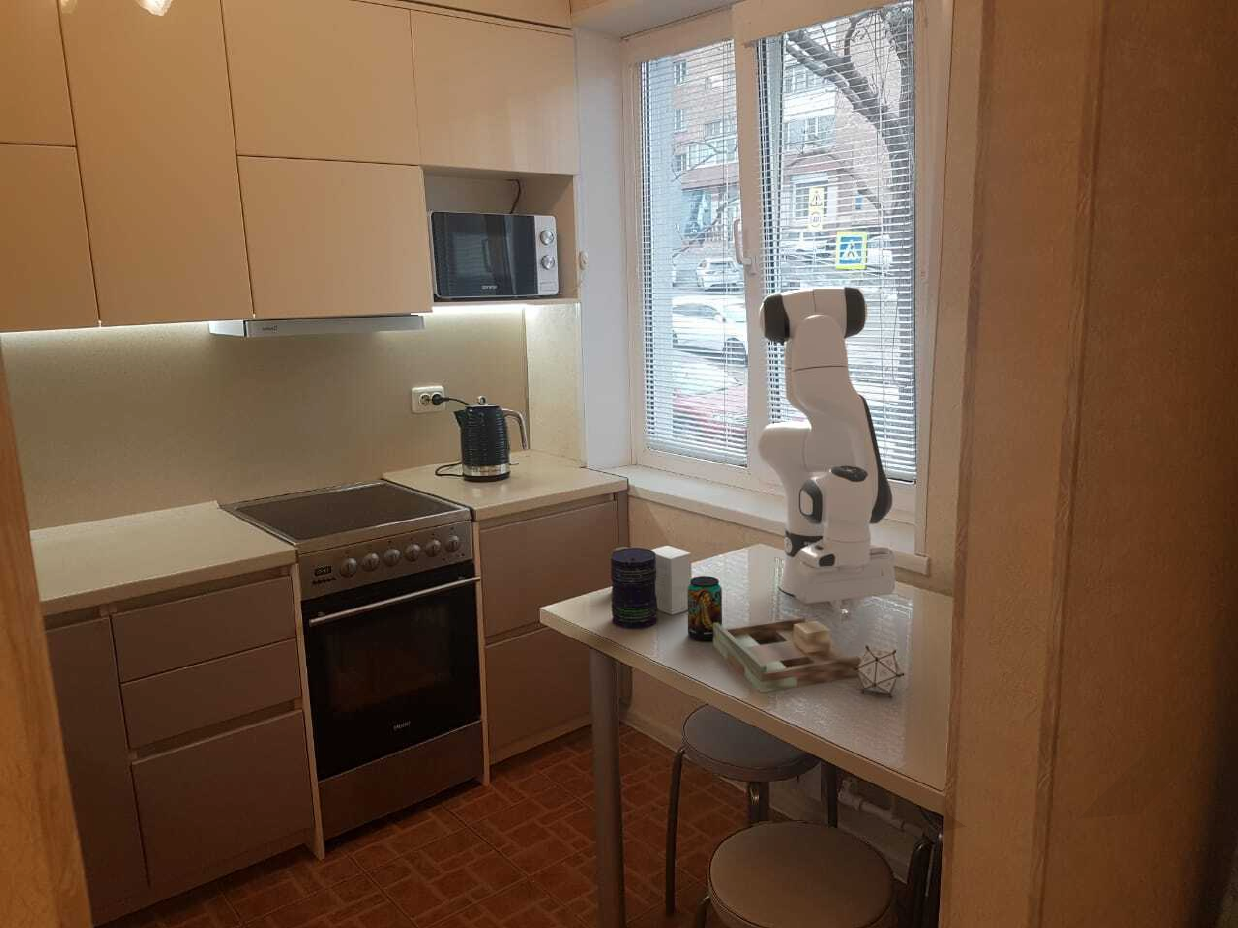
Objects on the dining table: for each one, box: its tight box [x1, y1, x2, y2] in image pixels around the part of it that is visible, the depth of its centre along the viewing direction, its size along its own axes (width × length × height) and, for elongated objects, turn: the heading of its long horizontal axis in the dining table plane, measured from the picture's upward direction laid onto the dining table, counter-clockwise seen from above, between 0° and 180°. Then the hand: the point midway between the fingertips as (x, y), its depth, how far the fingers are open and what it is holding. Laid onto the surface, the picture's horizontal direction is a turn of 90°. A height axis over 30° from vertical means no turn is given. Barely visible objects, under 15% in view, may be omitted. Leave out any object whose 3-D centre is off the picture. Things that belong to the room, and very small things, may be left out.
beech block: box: [794, 620, 831, 653], centre depth 178 cm, size 5×5×4 cm
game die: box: [852, 644, 906, 699], centre depth 162 cm, size 9×8×10 cm
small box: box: [650, 545, 693, 616], centre depth 205 cm, size 8×6×13 cm
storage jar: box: [610, 547, 658, 630], centre depth 197 cm, size 10×10×15 cm
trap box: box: [712, 616, 862, 694], centre depth 177 cm, size 20×22×5 cm
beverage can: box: [687, 575, 723, 642], centre depth 189 cm, size 7×7×12 cm
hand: (843, 619), depth 179 cm, fingers closed
